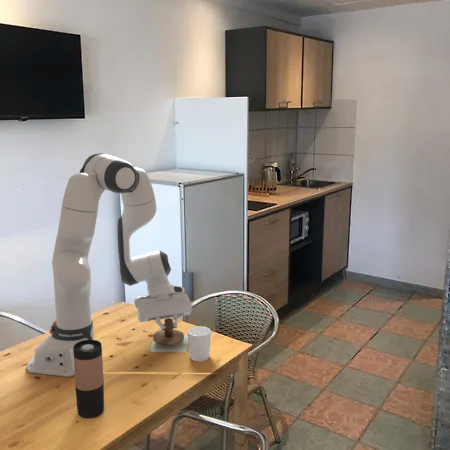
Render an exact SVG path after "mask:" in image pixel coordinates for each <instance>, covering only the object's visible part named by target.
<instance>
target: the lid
mask: <svg viewBox="0 0 450 450" xmlns="http://www.w3.org/2000/svg"><path fill="white" fill-rule="evenodd" d="M173 322H174V320H173V318H172V317H171V318H165V319H164V324H165V327H166V329H165V330H162V331H161V329H160V330H157V331H156V332H154V333H153V337H152V338H153V339H152V341H153V340H154V342H156V343H157V344H160V345H176V344H179V343H181V342H182V341H183V340H184V336H185V334H184V333H183V332H182V331H180V330H177V329H175V328H173Z"/></svg>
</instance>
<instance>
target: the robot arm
mask: <svg viewBox="0 0 450 450" xmlns="http://www.w3.org/2000/svg"><path fill="white" fill-rule="evenodd" d="M105 190H106V191H109V192H112V193H115V194H120V195H121V200H122V204H123V205H122V206H123V211H122V214H121V216H120V217H119V218H118V219H117V225H116V226H117V248H118V251H117V252H118V267H117V271H118V277H119V280H120V281H121V282H122V283H123V284H125V285H127V286H131V287H132V286H134V285H137V284H140V283H142V282H145V283H146V285H147V286H146V290H147V294H148V295H145V296H138V297H137V298H135V299H134V302H133V303H134V306H135V308H136V315H137V320H138V322H139V323H145V322H151V321H155V323H156V325H158V326H159V328H160V330H161V331H162V330H165V329H166V327H165V323H162V321H161V320H162V319H163V320H165V319H167V318H171V319H173V329H177V328H178V323H177V322H178V318H179V317H184V316H189V315H191V313H192V311H193V306H192V303H191V300H190V298H189V296H188V295H187V294H186V293H185V292H186V291H185V290H186V289H185V287H183V286H178V285H173V284H171V282H170V281H169V277H168V276H169V275H170V274H171V273H170V272H171V271H172V268H171V265H170V263H169V256H168V254H166V253H165V252H164V251H162V250H153V251H150V252H147V253H144V254H139V255H134V256H131V252H130V250H131V249H130V239H131V237H132V236H133V235H134V234H135V233H136V231H138V230H139V229H141V228H143V227H144V226H146V225H147V224H149V223H150V222H151V221H152V220H153V218H155V215H156V213H157V202H156V196H155V190H154V188H153V184H152V182H151V180H150V178H149V175H148V173H147V172H146V170H144V169H143V168H140V167H134V166H133V165H132V164H131V163H130V162H129V161H127V160H125V159H121V158H119V157H117V156H115V155H110V154H105V153H101V152H100V153H93V154H91V155H90V156H88V157H87V158H86V159H85V160H84V163H83V165H82V167H81V169H80V170H79V172H78V173H74V174H73V175H71V176H70V177H69V179H68V182H67V184H66V187H65V189H64V193H63V198H62V201H61V202H62V203H61V209H60V216H59V223H58V230H57V234H56V239H55V243H54V248H53V254H52V260H51V263H52V264H51V265H52V266H51V267H52V273H53V275H52V276H53V288H54V291H53V292H54V305H55V320H54V321H53V322H52V325H51V326H50V328H49V334H50V335H48V336H47V337H46V338H45V339H44V340H42V341H41V342H40V343H39V344H38V345H37V347H36V348H35V352H34V354H33V357H31V359H29V361H28V363H27V367H26V368H27V372H28V373H32V374H38V375H39V374H41V375H48V376H49V375H50V376H57V377H67V378H68V377H73V376H75V372H74V352H73V347H74V345H75V344H76V343H78V342H80V341H84V340H94V336H95V333H94V332H95V330H94V329H95V328H94V323H93V322H94V321H93V319H92V308H91V307H92V306H91V305H92V304H91V290H92V289H91V286H92V285H91V282H92V281H91V274H92V273H91V267H90V264H89V253H90V249H91V245H92V242H93V238H94V236H95V229H96V224H97V217H98V212H99V211H98V210H99V204H100V200H101V197H102V194H103V193H104V192H105Z"/></svg>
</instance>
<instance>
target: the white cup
mask: <svg viewBox="0 0 450 450" xmlns="http://www.w3.org/2000/svg"><path fill="white" fill-rule="evenodd" d="M211 334H212V330H211V329H210V328H209V327H207V326H203V325H202V326H201V325H200V326H199V325H197V326H192V327H190V328H189V329H187V336H188V353H189V356H188V357H189V359H190V360H192V361H194V362H205V361H207V360H208V359H209V358H210V351H211V339H212V338H211V336H212V335H211Z"/></svg>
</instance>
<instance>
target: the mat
mask: <svg viewBox="0 0 450 450" xmlns="http://www.w3.org/2000/svg"><path fill="white" fill-rule="evenodd" d="M188 349H189V346H188V335H184V340H183V341H182V342H181V343H179V344H176V345H160V344H157V343H156V342H154V340H153V339H152V343H151V346H150V350H149V352H150V353H151V352H152V353H166V352H167V353H186V352H188Z"/></svg>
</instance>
